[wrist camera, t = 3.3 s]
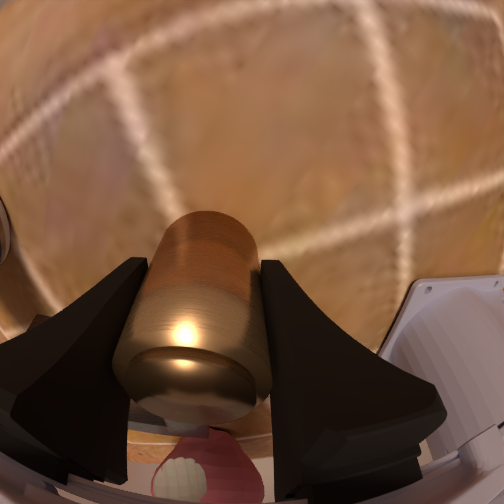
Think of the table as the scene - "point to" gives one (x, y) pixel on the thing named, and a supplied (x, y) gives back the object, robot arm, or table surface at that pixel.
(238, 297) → the brass cylinder
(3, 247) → the pill bottle
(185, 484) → the apple
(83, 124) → the table surface
